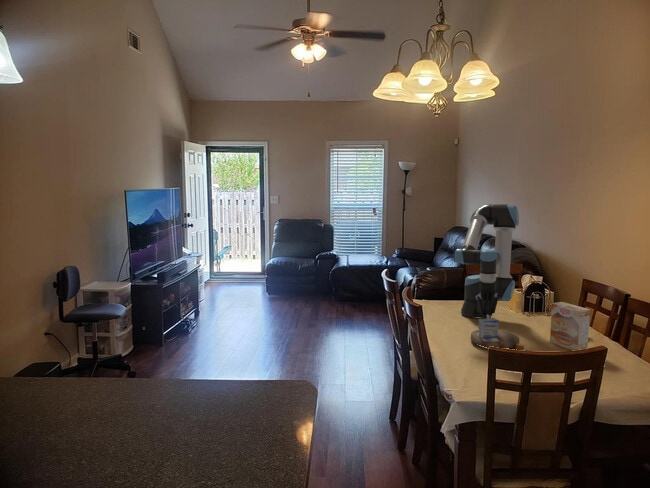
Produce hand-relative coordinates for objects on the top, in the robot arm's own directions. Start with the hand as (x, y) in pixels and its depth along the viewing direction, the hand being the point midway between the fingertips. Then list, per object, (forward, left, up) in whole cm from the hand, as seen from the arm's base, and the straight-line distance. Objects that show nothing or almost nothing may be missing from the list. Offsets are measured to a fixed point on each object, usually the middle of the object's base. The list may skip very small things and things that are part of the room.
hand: (486, 327), depth 224 cm
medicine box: (+6, -8, -2) cm, 10 cm away
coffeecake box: (+30, +20, -6) cm, 37 cm away
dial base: (+10, -4, -5) cm, 12 cm away
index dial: (+7, -4, -4) cm, 9 cm away
